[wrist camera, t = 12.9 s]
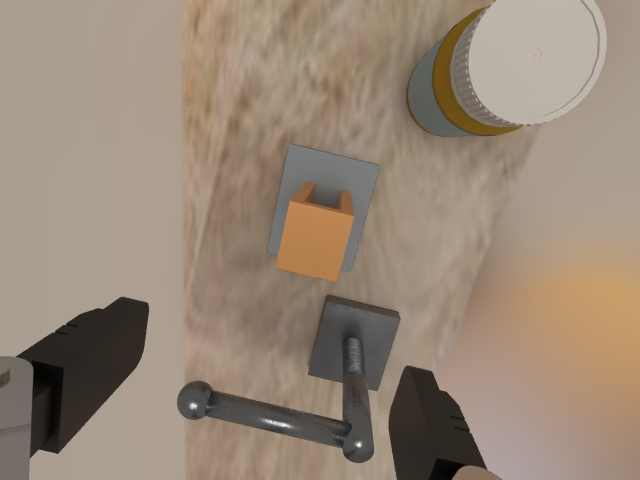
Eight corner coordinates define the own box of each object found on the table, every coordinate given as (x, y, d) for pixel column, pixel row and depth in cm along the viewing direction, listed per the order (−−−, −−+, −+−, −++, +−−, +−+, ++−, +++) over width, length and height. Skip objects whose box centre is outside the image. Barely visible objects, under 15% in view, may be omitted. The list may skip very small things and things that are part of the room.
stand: (376, 381, 39) (394, 512, 25) (226, 346, 39) (163, 457, 25) (398, 311, 37) (431, 413, 23) (239, 273, 37) (179, 353, 23)
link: (350, 192, 34) (354, 216, 23) (338, 239, 35) (336, 282, 24) (306, 181, 34) (289, 200, 23) (295, 228, 35) (275, 268, 24)
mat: (350, 270, 36) (350, 272, 36) (267, 250, 36) (266, 252, 36) (378, 165, 34) (379, 165, 33) (290, 143, 34) (289, 143, 33)
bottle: (417, 147, 33) (475, 153, 19) (396, 63, 32) (442, -1, 17) (498, 121, 32) (626, 108, 18) (482, 34, 31) (607, -59, 16)
